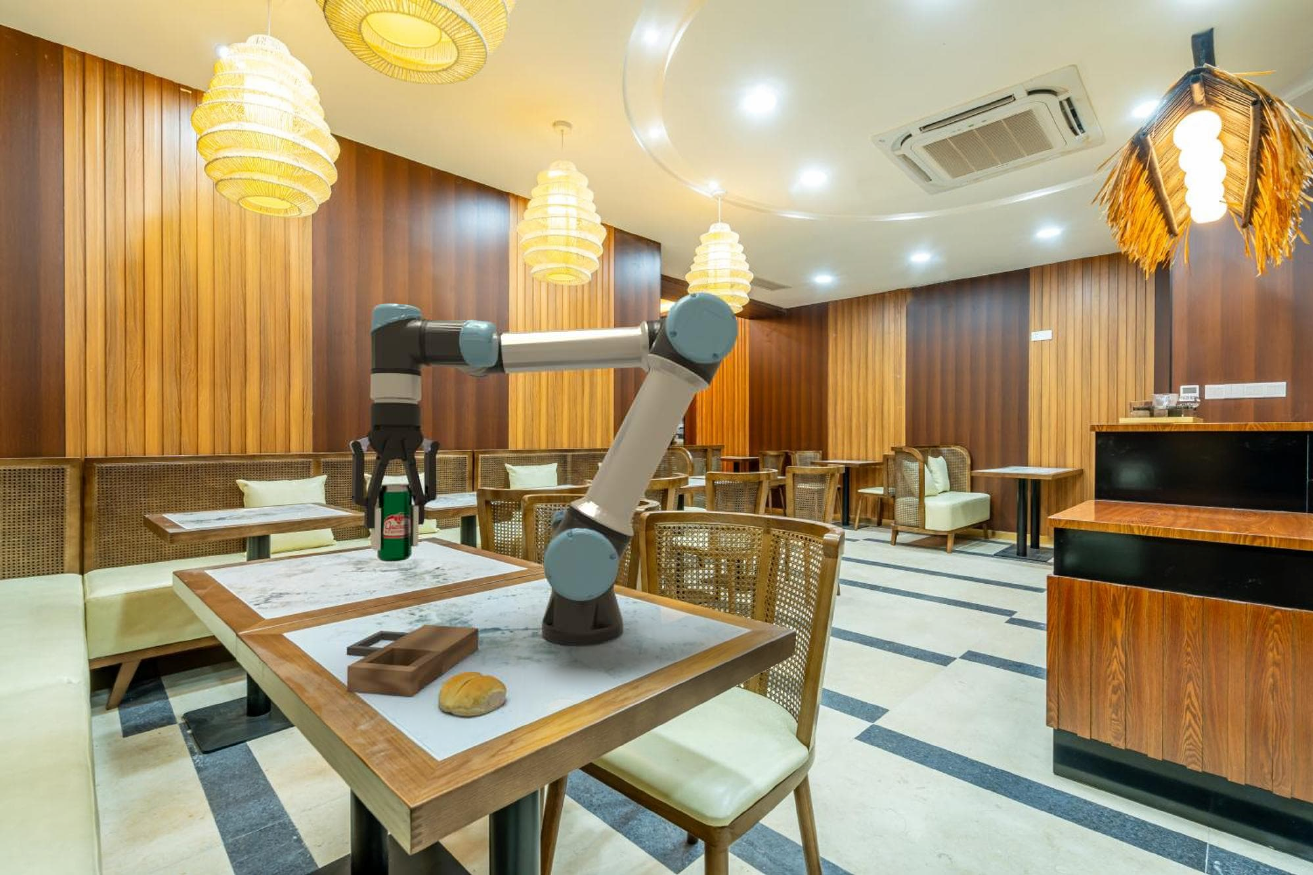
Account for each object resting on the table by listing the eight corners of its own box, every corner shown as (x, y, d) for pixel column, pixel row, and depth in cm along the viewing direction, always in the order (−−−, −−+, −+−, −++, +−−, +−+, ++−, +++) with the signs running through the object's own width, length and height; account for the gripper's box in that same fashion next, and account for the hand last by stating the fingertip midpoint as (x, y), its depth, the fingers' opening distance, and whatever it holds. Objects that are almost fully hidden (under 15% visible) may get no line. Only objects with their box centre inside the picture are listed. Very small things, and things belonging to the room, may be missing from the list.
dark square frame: (425, 640, 108) (426, 633, 108) (395, 658, 99) (395, 651, 99) (380, 637, 110) (380, 630, 110) (346, 654, 101) (346, 647, 101)
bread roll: (472, 687, 89) (472, 659, 89) (515, 701, 84) (516, 672, 84) (423, 707, 82) (423, 677, 82) (468, 724, 77) (468, 693, 77)
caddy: (478, 648, 104) (478, 628, 104) (411, 696, 84) (411, 671, 84) (424, 644, 106) (425, 624, 106) (347, 690, 86) (347, 666, 86)
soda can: (381, 563, 94) (382, 486, 94) (373, 558, 98) (374, 484, 98) (415, 559, 97) (416, 484, 97) (406, 554, 101) (407, 482, 101)
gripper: (443, 405, 106) (442, 538, 106) (328, 401, 95) (327, 549, 94) (459, 403, 100) (458, 544, 100) (338, 398, 89) (337, 557, 89)
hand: (394, 546), depth 97 cm, fingers closed on soda can, 5 cm apart
